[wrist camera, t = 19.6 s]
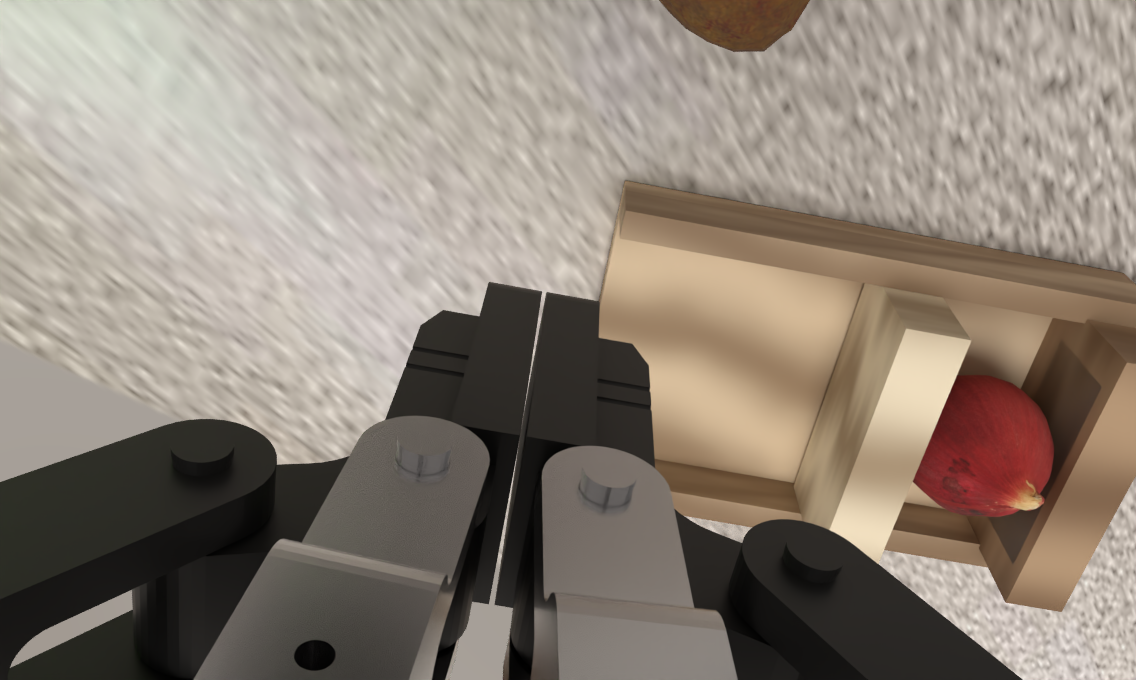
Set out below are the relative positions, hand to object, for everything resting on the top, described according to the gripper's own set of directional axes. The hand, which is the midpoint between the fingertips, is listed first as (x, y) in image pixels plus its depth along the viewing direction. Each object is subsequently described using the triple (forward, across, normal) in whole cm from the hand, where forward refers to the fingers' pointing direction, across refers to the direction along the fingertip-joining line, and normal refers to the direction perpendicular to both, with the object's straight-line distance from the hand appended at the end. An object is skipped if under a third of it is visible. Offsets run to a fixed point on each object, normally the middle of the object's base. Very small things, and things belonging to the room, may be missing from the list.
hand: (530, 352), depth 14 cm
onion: (+28, -19, +14) cm, 36 cm away
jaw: (+27, -15, +14) cm, 34 cm away
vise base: (+29, -14, +14) cm, 35 cm away
